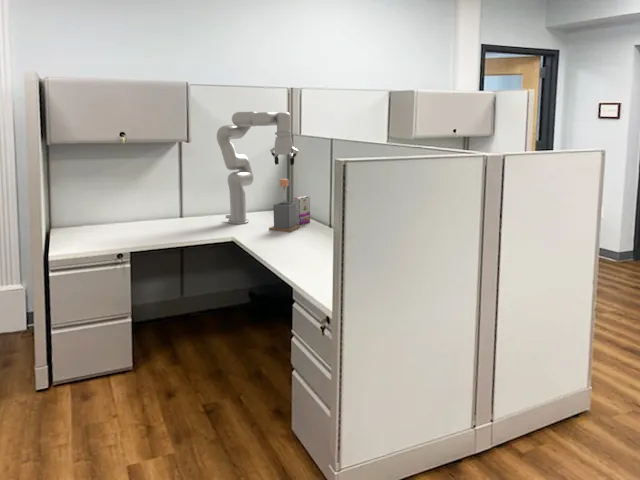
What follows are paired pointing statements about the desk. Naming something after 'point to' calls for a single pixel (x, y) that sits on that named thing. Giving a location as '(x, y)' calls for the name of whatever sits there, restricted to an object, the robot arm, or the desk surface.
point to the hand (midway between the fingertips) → (284, 164)
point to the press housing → (285, 217)
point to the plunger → (284, 188)
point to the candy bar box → (302, 209)
